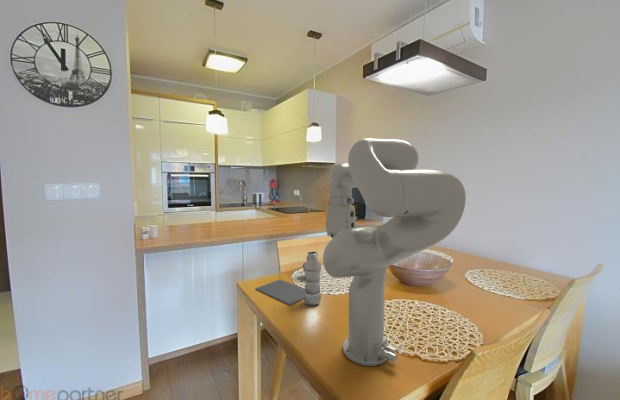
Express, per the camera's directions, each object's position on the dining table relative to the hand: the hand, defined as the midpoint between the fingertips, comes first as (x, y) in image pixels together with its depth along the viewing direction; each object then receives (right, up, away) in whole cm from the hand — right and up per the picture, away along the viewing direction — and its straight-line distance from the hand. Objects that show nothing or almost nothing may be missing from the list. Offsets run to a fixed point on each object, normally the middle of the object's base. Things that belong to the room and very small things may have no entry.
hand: (339, 254), depth 93 cm
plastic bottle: (-9, -21, +10) cm, 26 cm away
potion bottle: (-10, -19, +36) cm, 42 cm away
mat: (-21, -20, +21) cm, 36 cm away
